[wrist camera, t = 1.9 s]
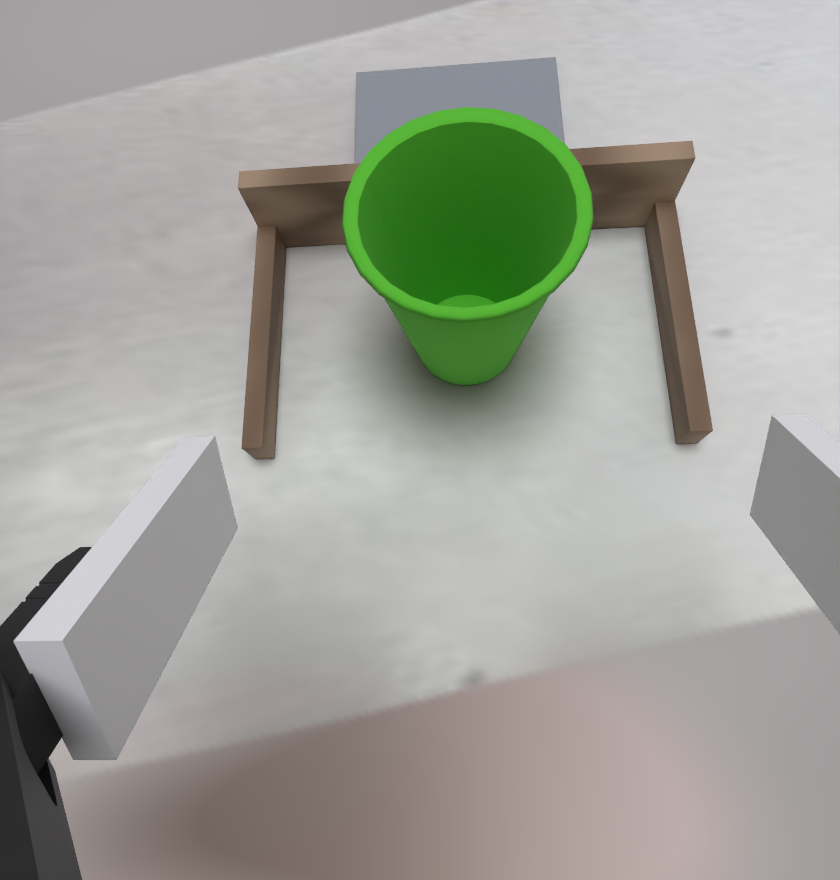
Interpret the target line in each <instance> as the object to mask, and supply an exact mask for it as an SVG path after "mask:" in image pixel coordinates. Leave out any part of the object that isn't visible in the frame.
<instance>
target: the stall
mask: <svg viewBox="0 0 840 880" xmlns="http://www.w3.org/2000/svg"><path fill="white" fill-rule="evenodd" d="M569 150H570V151H571V152H572V154H573V155H574V157H575V158H576V159H577V161H578V162H579V164H580V165H581V167H582V169H583V171H584V174H585V177H586V179H587V182H588V185H589V187H590V190H591V193H592V203H593V218H594V220H593V225H592V229H602V228H619V227H636V226H644V227H645V233H646V240H647V247H648V254H649V261H650V268H651V275H652V281H653V288H654V295H655V302H656V309H657V316H658V323H659V330H660V336H661V343H662V350H663V357H664V364H665V371H666V378H667V384H668V391H669V398H670V405H671V412H672V419H673V426H674V433H675V439H676V444H688V443H698V442H699V441H700V440H702V439H703V438H704V437H705V436H707V435H708V434H709V433H710V432H712V431H713V429H712V423H711V417H710V411H709V404H708V398H707V392H706V386H705V380H704V374H703V368H702V362H701V356H700V350H699V344H698V338H697V332H696V326H695V320H694V314H693V308H692V302H691V296H690V289H689V283H688V277H687V271H686V265H685V259H684V253H683V247H682V241H681V235H680V229H679V223H678V217H677V211H676V205H675V199H676V197H677V195H678V193H679V191H680V189H681V187H682V185H683V183H684V181H685V179H686V176H687V174H688V172H689V170H690V168H691V166H692V164H693V162H694V160H695V153H694V148H693V142H692V141H683V142H668V143H653V144H639V145H624V146H609V147H594V148H579V149H569ZM360 164H361V163H357V164H343V165H328V166H313V167H298V168H283V169H269V170H254V171H239V182H238V189H239V191H240V193H241V195H242V197H243V199H244V201H245V203H246V205H247V206H248V208H249V210H250V212H251V214H252V216H253V218H254V220H255V222H256V224H257V226H258V230H257V244H256V258H255V271H254V285H253V299H252V313H251V326H250V340H249V354H248V367H247V381H246V395H245V409H244V422H243V436H242V449H243V450H245V451H246V452H247V453H248V454H250V455H251V456H252V457H253V458H255V459H270V458H275V442H276V424H277V406H278V388H279V370H280V352H281V335H282V317H283V299H284V281H285V263H286V247H296V246H313V245H330V244H346V242H345V238H344V233H343V228H342V220H343V206H344V199H345V196H346V194H347V191H348V188H349V185H350V182H351V180H352V177H353V175H354V172H355V171H356V170H357V168H358V167H359V165H360Z"/></svg>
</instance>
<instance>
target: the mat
mask: <svg viewBox="0 0 840 880" xmlns="http://www.w3.org/2000/svg"><path fill="white" fill-rule="evenodd" d="M463 107H474V108H491V109H498V110H501V111H505V112H509V113H513V114H517V115H521V116H523V117H525V118H527V119H529V120H531V121H533V122H535V123H537V124H539V125H541V126H543V127H545V128H546V129H548V130H549V131H550V132H551V133H552V134H554V135H555V136H556V137H557V138H558V139H560V140H561V141H562V142H563V143H564V144H565V141H564V132H563V122H562V113H561V103H560V94H559V84H558V75H557V65H556V57H553V58H540V59H527V60H514V61H501V62H488V63H475V64H462V65H449V66H436V67H423V68H410V69H398V70H385V71H372V72H359V73H356V118H355V164H357V163H361V162H362V161H363V159H364V158H365V156H366V155H367V153H368V152H369V151H370V150H371V149H372V148H373V147H374V146H375V145H376V144H378V143H379V142H380V141H381V140H382V139H383V138H384V137H385V136H386V135H387V134H389V133H390V132H392V131H394V130H395V129H397V128H399V127H401V126H402V125H404V124H406V123H407V122H409V121H411V120H413V119H416V118H419V117H422V116H425V115H428V114H431V113H434V112H437V111H441V110H448V109H456V108H463Z"/></svg>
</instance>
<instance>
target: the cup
mask: <svg viewBox="0 0 840 880" xmlns="http://www.w3.org/2000/svg"><path fill="white" fill-rule="evenodd" d="M593 220H594V218H593V203H592V193H591V190H590V187H589V185H588V182H587V179H586V177H585V174H584V171H583V169H582V167H581V165H580V164H579V162H578V161H577V159H576V158H575V157H574V155H573V154H572V152H571V151H570V150H569V148H568V147H567V146H566V144H564V143H563V142H562V141H561V140H560V139H558V138H557V137H556V136H555V135H554V134H552V133H551V132H550V131H549V130H548V129H546V128H545V127H543V126H541V125H539V124H537V123H535V122H533V121H531V120H529V119H527V118H525V117H523V116H521V115H517V114H513V113H509V112H505V111H501V110H498V109H491V108H474V107H463V108H456V109H448V110H441V111H437V112H434V113H431V114H428V115H425V116H422V117H419V118H416V119H413V120H411V121H409V122H407V123H406V124H404V125H402V126H401V127H399V128H397V129H395V130H394V131H392V132H390V133H389V134H387V135H386V136H385V137H384V138H383V139H382V140H381V141H380V142H379V143H378V144H376V145H375V146H374V147H373V148H372V149H371V150H370V151H369V152H368V153H367V155H366V156H365V158H364V159H363V161H362V162H361V164H360V165H359V167H358V168H357V170H356V171H355V172H354V175H353V177H352V180H351V182H350V185H349V188H348V191H347V194H346V196H345V199H344V206H343V220H342V228H343V233H344V238H345V242H346V247H347V251H348V253H349V255H350V257H351V259H352V261H353V262H354V264H355V266H356V268H357V270H358V272H359V274H360V275H361V276H362V277H363V278H364V279H365V280H366V281H367V282H368V283H369V284H370V286H371V287H372V288H373V289H374V290H375V291H376V292H377V293H378V294H379V295H381V296H382V297H384V298H385V300H386V302H387V303H388V305H389V307H390V308H391V310H392V312H393V313H394V315H395V317H396V318H397V320H398V322H399V323H400V325H401V327H402V328H403V330H404V332H405V334H406V335H407V337H408V339H409V340H410V342H411V344H412V345H413V347H414V349H415V350H416V352H417V354H418V355H419V357H420V359H421V360H422V362H423V364H424V365H425V366H426V367H427V369H428V370H429V371H430V372H431V373H432V374H434V375H435V376H437V377H438V378H440V379H442V380H444V381H447V382H450V383H452V384H459V385H473V384H480V383H482V382H485V381H488V380H491V379H492V378H494V377H495V376H497V375H498V374H500V373H501V372H502V371H503V370H504V369H505V368H506V367H507V366H508V365H509V363H510V362H511V360H512V358H513V356H514V355H515V353H516V351H517V350H518V348H519V346H520V344H521V343H522V341H523V339H524V338H525V336H526V334H527V332H528V331H529V329H530V327H531V325H532V324H533V322H534V320H535V319H536V317H537V315H538V313H539V312H540V310H541V308H542V307H543V305H544V303H545V301H546V300H547V298H548V296H549V295H550V294H551V293H553V292H554V291H555V290H556V289H557V288H558V287H559V286H560V285H561V284H562V283H563V282H564V281H565V280H566V278H567V277H568V276H569V275H570V274H571V273H572V272H573V271H574V270H575V268H576V266H577V264H578V263H579V261H580V259H581V257H582V255H583V253H584V252H585V250H586V248H587V246H588V242H589V238H590V233H591V229H592V225H593Z"/></svg>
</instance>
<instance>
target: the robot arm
mask: <svg viewBox="0 0 840 880" xmlns="http://www.w3.org/2000/svg"><path fill="white" fill-rule="evenodd" d="M750 516H751V517H752V518H753V520H754V521H755V522H756V524H757V525H758V526H759V528H760V529H761V530H762V532H763V533H764V534H765V536H766V537H767V538H768V540H769V541H770V542H771V544H772V545H773V546H774V548H775V549H776V550H777V552H778V553H779V554H780V556H781V557H782V558H783V560H784V561H785V562H786V564H787V565H788V566H789V568H790V569H791V570H792V572H793V573H794V574H795V576H796V577H797V578H798V580H799V581H800V582H801V584H802V585H803V586H804V588H805V589H806V590H807V592H808V593H809V594H810V596H811V597H812V598H813V600H814V601H815V602H816V604H817V605H818V606H819V608H820V609H821V610H822V612H823V613H824V614H825V616H826V617H827V618H828V620H829V621H830V622H831V624H832V625H833V626H834V628H835V629H836V630H837V632H838V633H839V634H840V441H839V440H837V439H836V438H835V437H834V436H833V435H831V434H830V433H829V432H828V431H827V430H825V429H824V428H823V427H822V426H821V425H819V424H818V423H817V422H816V421H815V420H813V419H812V418H811V417H810V416H809V415H807V414H789V415H772V417H771V421H770V426H769V430H768V435H767V439H766V444H765V449H764V453H763V458H762V462H761V467H760V471H759V476H758V480H757V485H756V489H755V494H754V498H753V503H752V507H751V512H750ZM236 530H237V523H236V519H235V515H234V511H233V507H232V503H231V499H230V495H229V491H228V487H227V483H226V479H225V475H224V471H223V467H222V463H221V459H220V455H219V451H218V446H217V442H216V438H215V436H198V437H184V438H183V439H182V441H181V442H180V443H179V444H178V445H177V447H176V448H175V449H174V450H173V451H172V453H171V454H170V455H169V456H168V457H167V459H166V460H165V461H164V462H163V463H162V464H161V466H160V467H159V468H158V469H157V470H156V472H155V473H154V474H153V475H152V476H151V478H150V479H149V480H148V481H147V482H146V484H145V485H144V486H143V487H142V488H141V490H140V491H139V492H138V493H137V494H136V495H135V497H134V498H133V499H132V500H131V501H130V503H129V504H128V505H127V506H126V507H125V509H124V510H123V511H122V512H121V513H120V515H119V516H118V517H117V518H116V519H115V521H114V522H113V523H112V524H111V525H110V526H109V528H108V529H107V530H106V531H105V532H104V534H103V535H102V536H101V537H100V538H99V540H98V541H97V542H96V543H95V544H94V546H93V547H80V548H78V549H77V550H75V551H74V552H72V553H71V554H69V555H68V556H67V557H65V558H64V559H62V560H61V561H59V562H58V563H56V564H55V565H54V566H53V568H52V569H51V570H50V571H49V572H48V573H47V574H46V575H45V577H44V578H43V579H42V580H41V581H40V582H39V586H36V587H35V588H34V589H33V590H32V591H31V592H30V593H29V595H28V596H27V597H26V601H25V602H21V604H20V605H19V606H18V607H17V608H16V609H15V610H14V611H13V613H12V614H11V615H10V616H9V617H8V618H7V619H6V620H5V622H4V623H3V624H2V625H1V626H0V880H82V877H81V873H80V870H79V865H78V862H77V857H76V853H75V849H74V845H73V841H72V838H71V833H70V830H69V825H68V821H67V817H66V813H65V809H64V805H63V801H62V797H61V793H60V790H59V785H58V781H57V777H56V773H55V770H54V768H53V766H52V764H51V762H50V760H49V759H48V758H49V756H50V755H51V753H52V752H53V750H54V749H55V747H56V745H57V744H58V742H59V741H60V739H61V737H62V739H63V741H64V743H65V744H66V746H67V748H68V750H69V752H70V754H71V756H72V758H73V760H117V758H118V756H119V754H120V752H121V750H122V748H123V747H124V745H125V743H126V741H127V739H128V737H129V735H130V733H131V731H132V729H133V727H134V725H135V724H136V722H137V720H138V718H139V716H140V714H141V712H142V710H143V708H144V706H145V704H146V703H147V701H148V699H149V697H150V695H151V693H152V691H153V689H154V687H155V685H156V683H157V681H158V680H159V678H160V676H161V674H162V672H163V670H164V668H165V666H166V664H167V662H168V660H169V659H170V657H171V655H172V653H173V651H174V649H175V647H176V645H177V643H178V641H179V639H180V637H181V636H182V634H183V632H184V630H185V628H186V626H187V624H188V622H189V620H190V618H191V616H192V615H193V613H194V611H195V609H196V607H197V605H198V603H199V601H200V599H201V597H202V595H203V594H204V592H205V590H206V588H207V586H208V584H209V582H210V580H211V578H212V576H213V574H214V572H215V571H216V569H217V567H218V565H219V563H220V561H221V559H222V557H223V555H224V553H225V551H226V550H227V548H228V546H229V544H230V542H231V540H232V538H233V536H234V534H235V532H236Z"/></svg>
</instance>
